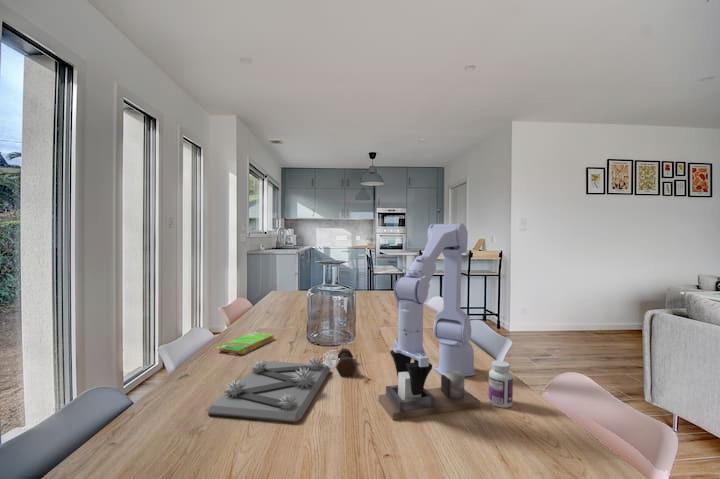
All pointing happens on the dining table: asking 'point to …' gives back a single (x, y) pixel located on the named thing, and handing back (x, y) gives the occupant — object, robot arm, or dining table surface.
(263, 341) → the game box
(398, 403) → the brown board with socket
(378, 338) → the dining table surface
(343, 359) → the bolt
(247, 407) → the grey spiky zigzag board
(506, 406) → the pill bottle
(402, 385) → the white block
